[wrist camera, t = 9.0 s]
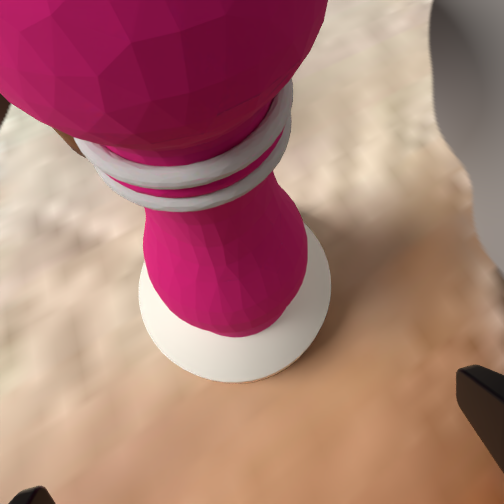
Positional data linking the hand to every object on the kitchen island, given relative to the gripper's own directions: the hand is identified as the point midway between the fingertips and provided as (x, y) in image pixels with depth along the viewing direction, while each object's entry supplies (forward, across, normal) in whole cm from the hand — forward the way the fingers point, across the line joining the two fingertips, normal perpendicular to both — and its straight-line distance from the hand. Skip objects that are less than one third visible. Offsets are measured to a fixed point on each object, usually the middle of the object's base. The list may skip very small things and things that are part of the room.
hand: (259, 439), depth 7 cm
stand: (+14, 0, +4) cm, 15 cm away
